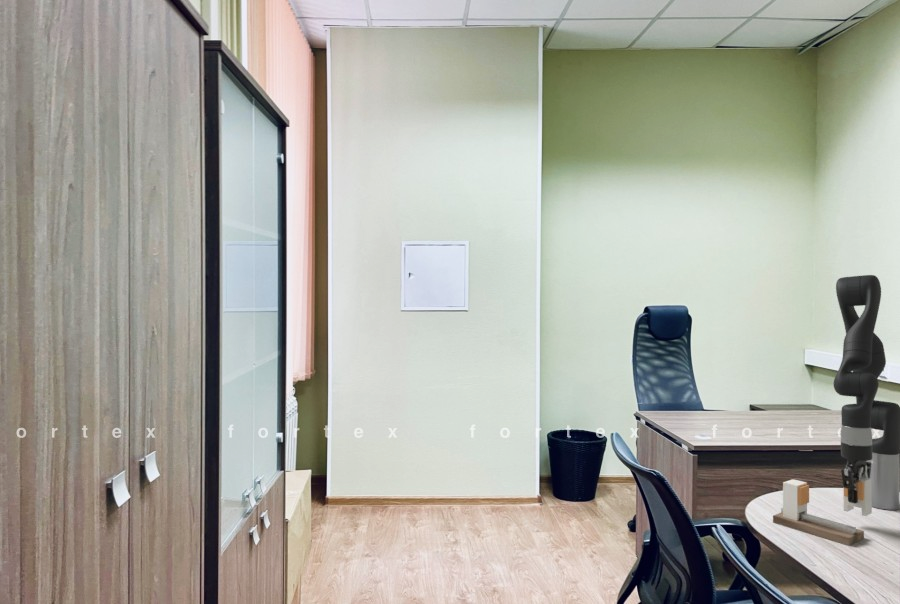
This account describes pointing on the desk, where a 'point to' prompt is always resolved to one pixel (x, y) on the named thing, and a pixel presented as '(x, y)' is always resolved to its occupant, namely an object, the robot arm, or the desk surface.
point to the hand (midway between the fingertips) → (856, 500)
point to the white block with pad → (860, 497)
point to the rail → (819, 530)
